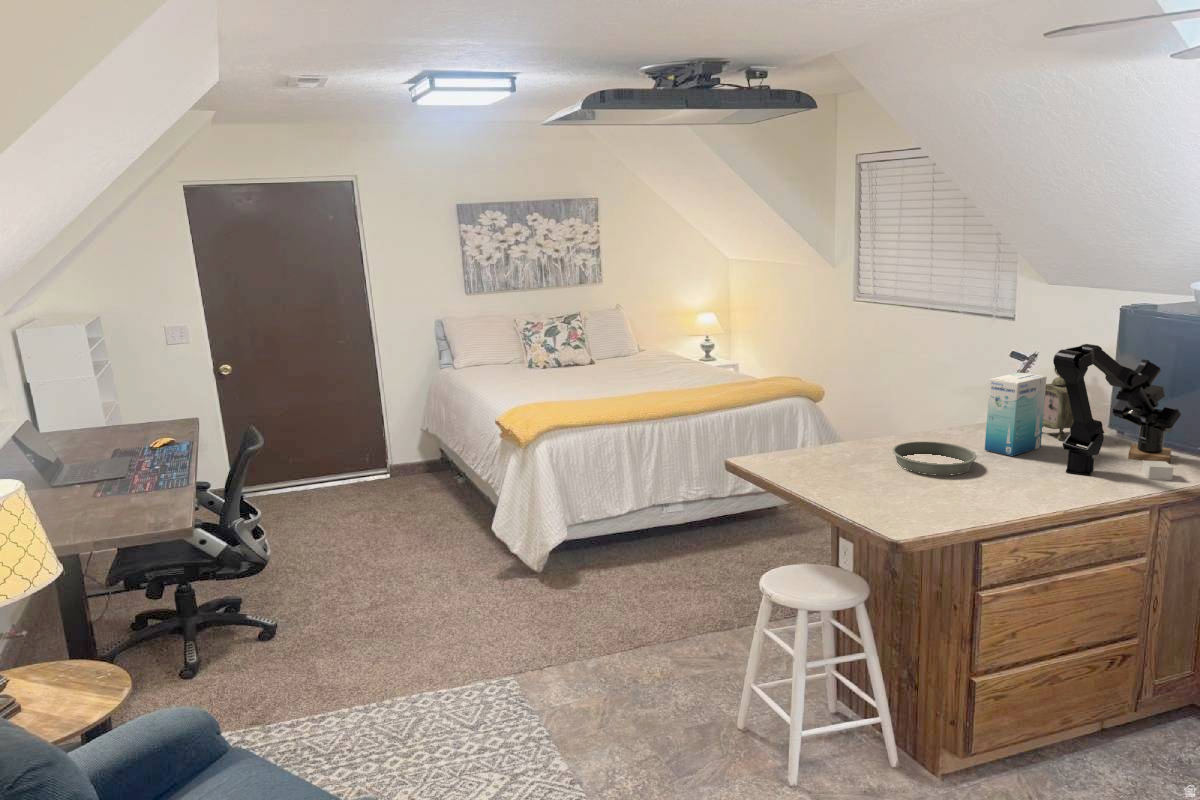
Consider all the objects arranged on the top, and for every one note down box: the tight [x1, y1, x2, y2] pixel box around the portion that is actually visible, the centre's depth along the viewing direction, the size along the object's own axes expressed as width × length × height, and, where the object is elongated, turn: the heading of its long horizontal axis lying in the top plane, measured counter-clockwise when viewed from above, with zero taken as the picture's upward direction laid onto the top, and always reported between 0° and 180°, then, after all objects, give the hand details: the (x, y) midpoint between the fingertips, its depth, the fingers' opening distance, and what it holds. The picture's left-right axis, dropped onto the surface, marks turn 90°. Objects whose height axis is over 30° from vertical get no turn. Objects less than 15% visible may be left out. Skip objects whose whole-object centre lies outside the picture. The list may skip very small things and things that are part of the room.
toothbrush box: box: [984, 372, 1047, 457], centre depth 290 cm, size 18×10×24 cm, turn 126°
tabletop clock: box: [1042, 367, 1074, 441], centre depth 304 cm, size 14×9×25 cm, turn 10°
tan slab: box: [1127, 443, 1172, 465], centre depth 281 cm, size 11×11×2 cm
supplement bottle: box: [1137, 416, 1166, 453], centre depth 279 cm, size 7×7×12 cm
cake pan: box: [891, 441, 978, 476], centre depth 278 cm, size 25×25×4 cm
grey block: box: [1141, 461, 1174, 481], centre depth 262 cm, size 6×6×4 cm
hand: (1155, 428), depth 280 cm, fingers open, 9 cm apart
